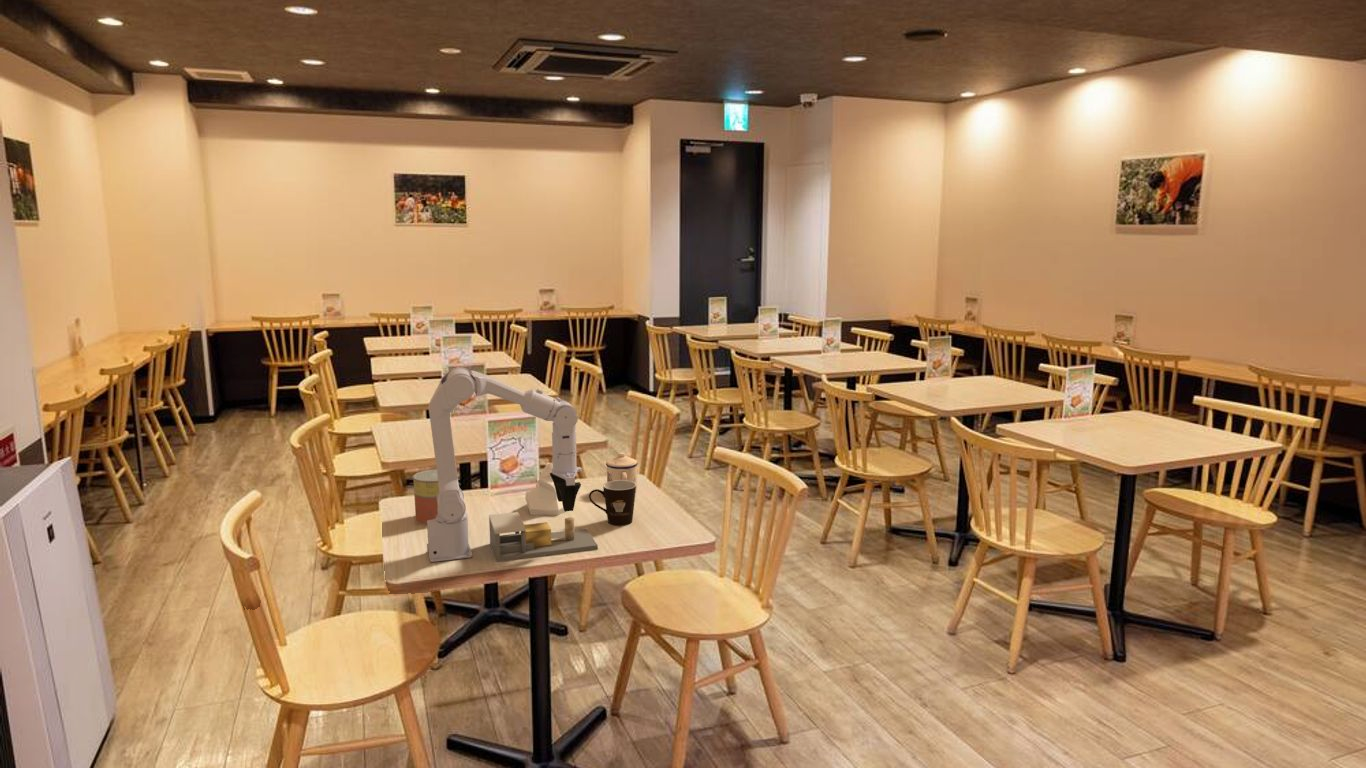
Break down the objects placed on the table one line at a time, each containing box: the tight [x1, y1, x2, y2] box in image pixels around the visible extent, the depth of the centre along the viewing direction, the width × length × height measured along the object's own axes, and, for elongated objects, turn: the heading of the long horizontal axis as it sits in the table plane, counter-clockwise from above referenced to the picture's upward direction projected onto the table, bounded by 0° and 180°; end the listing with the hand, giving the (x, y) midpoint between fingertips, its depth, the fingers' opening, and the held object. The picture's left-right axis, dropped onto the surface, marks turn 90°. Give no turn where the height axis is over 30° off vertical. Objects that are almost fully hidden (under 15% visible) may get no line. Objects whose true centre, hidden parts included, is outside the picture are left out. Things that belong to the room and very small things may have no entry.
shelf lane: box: [488, 511, 599, 562], centre depth 207 cm, size 24×12×7 cm, turn 109°
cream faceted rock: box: [524, 462, 567, 516], centre depth 234 cm, size 12×15×14 cm
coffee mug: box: [588, 480, 637, 527], centre depth 225 cm, size 12×9×10 cm
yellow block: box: [524, 517, 575, 547], centre depth 208 cm, size 12×5×5 cm, turn 109°
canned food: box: [412, 468, 458, 527], centre depth 226 cm, size 11×11×12 cm
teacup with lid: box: [605, 452, 638, 494], centre depth 248 cm, size 12×9×12 cm
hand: (565, 505), depth 209 cm, fingers open, 7 cm apart
